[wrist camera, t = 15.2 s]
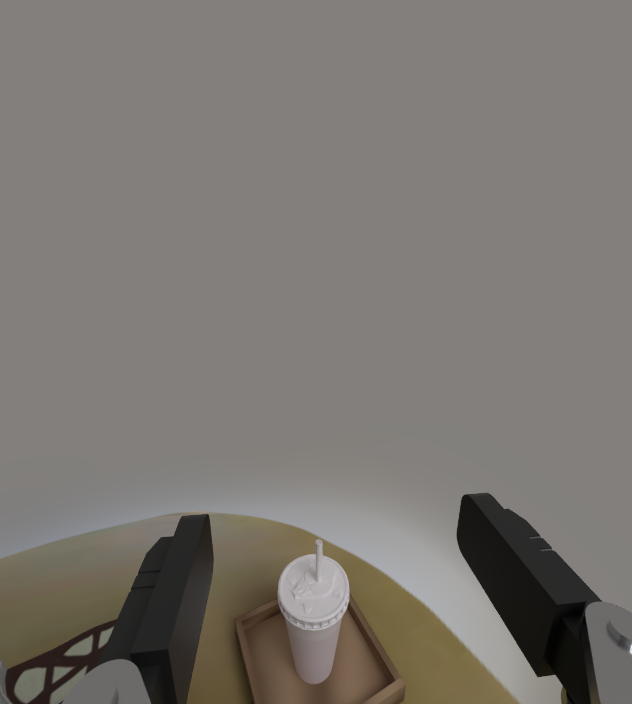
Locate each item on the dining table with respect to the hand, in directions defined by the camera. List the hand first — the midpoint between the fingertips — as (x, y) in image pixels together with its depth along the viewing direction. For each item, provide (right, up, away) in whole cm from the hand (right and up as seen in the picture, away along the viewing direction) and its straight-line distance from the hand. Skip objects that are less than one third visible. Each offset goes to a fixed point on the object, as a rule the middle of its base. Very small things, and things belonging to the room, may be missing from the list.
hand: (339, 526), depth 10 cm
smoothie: (-1, -25, +22) cm, 33 cm away
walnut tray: (-1, -25, +22) cm, 33 cm away
